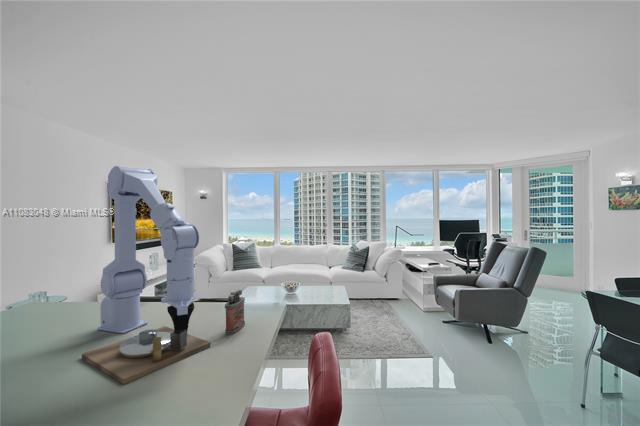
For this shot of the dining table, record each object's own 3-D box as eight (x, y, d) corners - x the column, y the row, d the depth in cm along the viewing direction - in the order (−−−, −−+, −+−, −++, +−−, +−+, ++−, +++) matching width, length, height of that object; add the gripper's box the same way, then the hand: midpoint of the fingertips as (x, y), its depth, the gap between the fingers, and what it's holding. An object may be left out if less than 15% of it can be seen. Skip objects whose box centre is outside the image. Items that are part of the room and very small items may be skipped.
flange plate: (143, 335, 78) (142, 320, 78) (196, 338, 76) (196, 322, 76) (107, 356, 67) (106, 338, 67) (168, 360, 65) (168, 342, 65)
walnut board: (81, 358, 69) (81, 333, 69) (165, 329, 85) (164, 309, 85) (124, 384, 58) (123, 355, 58) (210, 346, 74) (210, 323, 74)
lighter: (234, 335, 81) (233, 296, 81) (222, 334, 82) (221, 295, 81) (247, 323, 89) (247, 288, 89) (236, 322, 89) (236, 287, 89)
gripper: (161, 273, 77) (162, 328, 77) (160, 287, 64) (161, 353, 64) (192, 270, 80) (192, 323, 80) (197, 283, 67) (198, 346, 67)
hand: (181, 336), depth 73 cm, fingers closed, pressing on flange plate
